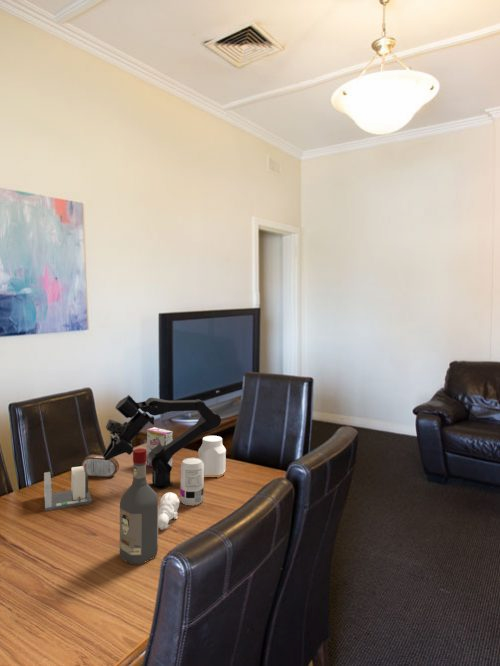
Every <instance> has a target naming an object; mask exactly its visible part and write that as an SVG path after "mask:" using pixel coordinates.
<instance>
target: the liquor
mask: <svg viewBox="0 0 500 666" xmlns="http://www.w3.org/2000/svg"><path fill="white" fill-rule="evenodd" d="M132 462H133V467H132V468H133V471H132V472H133V474H132V475H133V476H132V482H131V484H130V486H129V487H128V488H127V489H126V491H124V493H123V494H122V496H121V498H120V501H119V557H120V558H121V559H122V558H123V559H122V560H124V561H125V560H126V561H125V562H126V563H128V562H129V565H132V564H138V565H143V564H144V562H145V561H147V560H149V559H150V560H152V559H154V558H156V557H157V555H158V550H159V528H158V509H159V495H158V494H157V492H156V491H155V489H153V488H152V486H150V485H149V484H148V483H147V482H148V481H147V472H146V471H147V448H136V449H135V448H134V449H133V452H132ZM153 557H154V558H153ZM151 558H152V559H151ZM150 560H149V561H150ZM147 562H148V561H147ZM142 563H143V564H142ZM145 563H146V562H145Z"/></svg>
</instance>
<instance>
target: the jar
mask: <svg viewBox="0 0 500 666" xmlns="http://www.w3.org/2000/svg"><path fill="white" fill-rule="evenodd" d="M197 451H198V458H199V459H201V460H202V462H203V464H204V475H220V474H223V473H224V472H225V471H226V465H227V464H226V462H227V460H226V459H227V458H226V454H227V449H226V447H225V446H224V445H223V438H222V437H221V436H219V435H218V436H217V435H206V436H204V437H202V444H201V446H200V447H199V448H198V450H197Z"/></svg>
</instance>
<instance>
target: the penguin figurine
mask: <svg viewBox="0 0 500 666" xmlns="http://www.w3.org/2000/svg"><path fill="white" fill-rule="evenodd" d="M180 503H181V501H180V499H179V497H178V495H177V494H176V493H175V492H171V491H170V492H169V491H168V492H166V493H165V494H163V495H162V497H161V498H160V500H159V506H158V529H159V530H161V531H164V530H165V529H168V528H169V527H170V526H171V524H169V522H170V521H171V520H172V519H173V518H174V519H173V520H175V519H177V518H178V515H179V513H178V509H179V507H180ZM178 519H179V518H178ZM178 519H177V520H178Z"/></svg>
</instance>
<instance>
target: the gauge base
mask: <svg viewBox="0 0 500 666" xmlns="http://www.w3.org/2000/svg"><path fill="white" fill-rule="evenodd" d="M51 475H52V474H51V471H47V472H44V473H43V484H44V486H43V487H44V489H43V490H44V491H43V492H44V494H43V496H44V499H43V500H44V511H45V512H47V511H54V510H60V509H65V508H71V507H77V506H84V505H88V504H93V499H92V497H91V494H90V489H89V488H88V493H85V499H81V501H79V499H78V500H73V497H72V492H71V489H70V490H65V491H57V492H53V491H52V476H51Z"/></svg>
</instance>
